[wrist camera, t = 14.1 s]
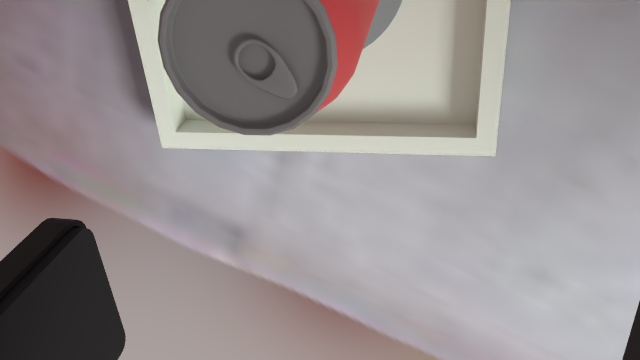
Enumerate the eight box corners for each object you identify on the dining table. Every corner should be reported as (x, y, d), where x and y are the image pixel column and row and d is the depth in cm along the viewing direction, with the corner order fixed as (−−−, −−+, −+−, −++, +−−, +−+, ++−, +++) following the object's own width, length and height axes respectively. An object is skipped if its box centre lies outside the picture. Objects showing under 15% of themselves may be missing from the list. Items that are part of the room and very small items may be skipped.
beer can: (323, 63, 30) (263, 187, 20) (223, -28, 28) (102, 55, 18) (417, -35, 27) (401, 53, 16) (309, -144, 25) (219, -121, 15)
